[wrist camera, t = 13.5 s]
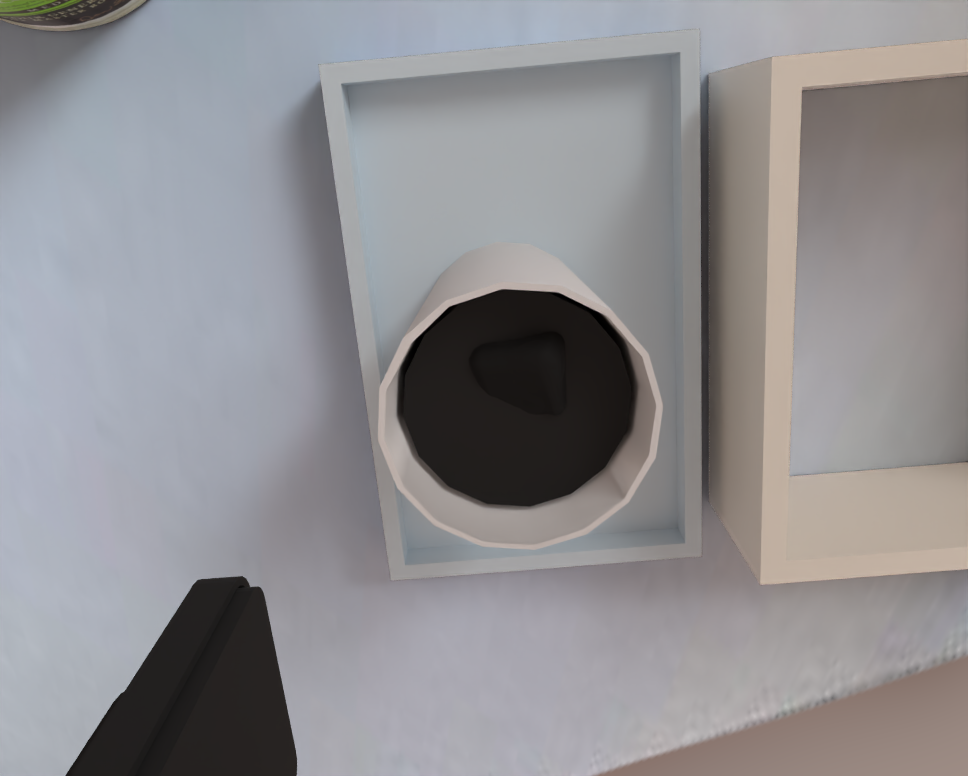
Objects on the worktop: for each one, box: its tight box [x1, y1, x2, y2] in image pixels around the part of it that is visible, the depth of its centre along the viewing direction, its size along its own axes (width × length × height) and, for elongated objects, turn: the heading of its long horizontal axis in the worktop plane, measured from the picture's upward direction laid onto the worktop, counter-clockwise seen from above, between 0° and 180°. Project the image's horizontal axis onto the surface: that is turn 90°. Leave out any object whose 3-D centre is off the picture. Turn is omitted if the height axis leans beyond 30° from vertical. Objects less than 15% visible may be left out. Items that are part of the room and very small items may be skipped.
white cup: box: [378, 242, 663, 550], centre depth 23 cm, size 7×7×10 cm
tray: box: [318, 29, 702, 581], centre depth 28 cm, size 12×18×2 cm, turn 5°
